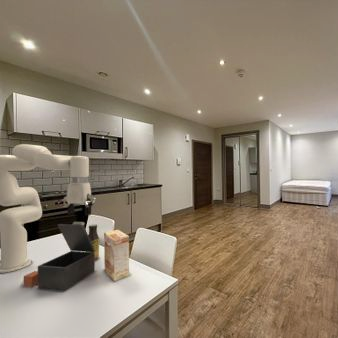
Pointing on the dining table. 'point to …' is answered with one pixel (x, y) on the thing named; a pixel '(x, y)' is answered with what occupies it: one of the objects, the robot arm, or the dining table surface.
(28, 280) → the block
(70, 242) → the box lid with handle
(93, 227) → the sauce bottle
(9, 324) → the dining table surface
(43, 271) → the dark grey hollow box
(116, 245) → the coffeecake box
